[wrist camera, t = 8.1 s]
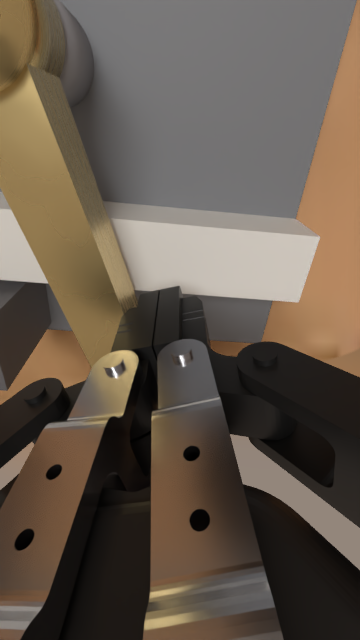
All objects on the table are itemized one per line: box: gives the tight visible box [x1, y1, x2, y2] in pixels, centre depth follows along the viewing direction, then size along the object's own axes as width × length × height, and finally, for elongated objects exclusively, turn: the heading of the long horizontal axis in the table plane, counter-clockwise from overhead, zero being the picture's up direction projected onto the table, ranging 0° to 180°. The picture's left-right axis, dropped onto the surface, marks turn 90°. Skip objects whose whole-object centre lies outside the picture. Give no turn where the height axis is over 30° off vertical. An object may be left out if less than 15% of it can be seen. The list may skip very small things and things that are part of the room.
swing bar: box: [0, 0, 138, 368], centre depth 10 cm, size 13×3×3 cm, turn 13°
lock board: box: [0, 0, 357, 391], centre depth 12 cm, size 18×20×8 cm
